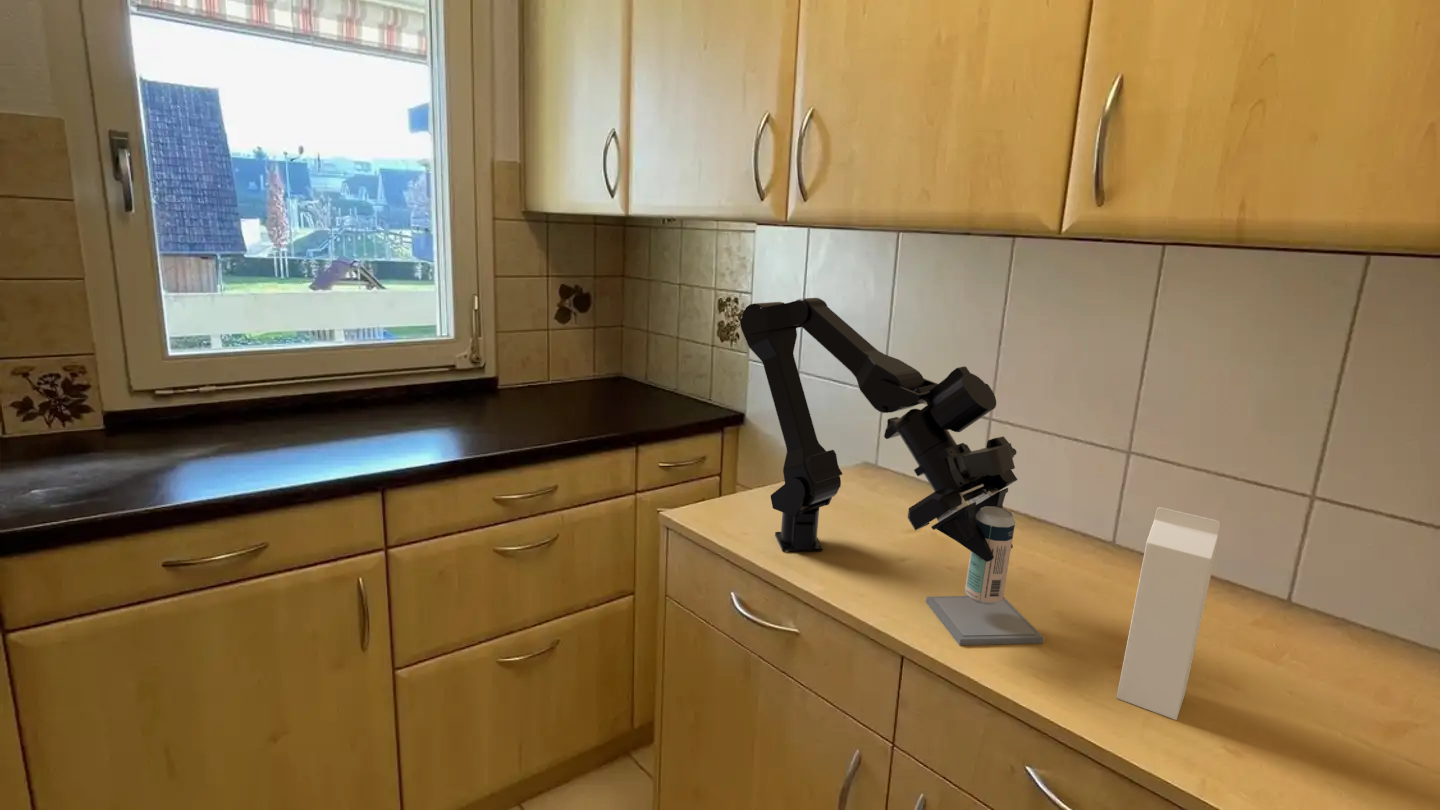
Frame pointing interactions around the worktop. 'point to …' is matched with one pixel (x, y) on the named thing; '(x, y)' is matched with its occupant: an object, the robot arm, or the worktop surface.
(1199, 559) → the milk
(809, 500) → the robot arm
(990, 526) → the beer can
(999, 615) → the trivet
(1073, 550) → the worktop surface
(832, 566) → the worktop surface
